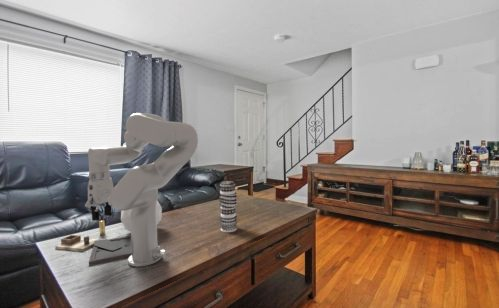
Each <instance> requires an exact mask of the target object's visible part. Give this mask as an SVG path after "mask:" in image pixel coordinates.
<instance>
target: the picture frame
mask: <svg viewBox="0 0 499 308" xmlns="http://www.w3.org/2000/svg"><path fill="white" fill-rule="evenodd" d="M131 255H132V246H131V235H127V236H121V237H115V238H109V239H107V238H105V239H101V240H98V241H94V245H93V247H92V250H91V253H90V255H89V256H90V257H89V260H88V266H93V265H99V264H103V263H108V262H112V261H116V260H122V259H128V258H129V257H130V256H131Z"/></svg>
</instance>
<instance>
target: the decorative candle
mask: <svg viewBox="0 0 499 308" xmlns="http://www.w3.org/2000/svg"><path fill="white" fill-rule="evenodd" d="M219 186H220V190H219V193H218V195H219V196H218V199H219V207H220V216H219V217H220V224H219V225H220V231H221V232H223V233H233V232H236V231H237V230H238V228H237V227H238V225H237V224H238V223H237V212H236V208H237V205H236V204H237V201H238V200H237V197H238V195H237V194H238V193H237V192H236V183H235V182H234V181H231V180H224V181H222V182H220V184H219Z"/></svg>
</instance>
